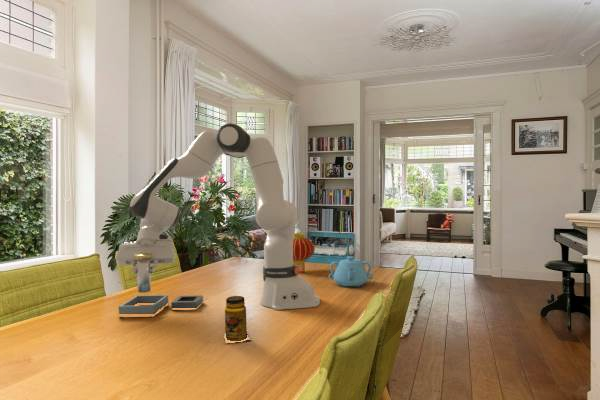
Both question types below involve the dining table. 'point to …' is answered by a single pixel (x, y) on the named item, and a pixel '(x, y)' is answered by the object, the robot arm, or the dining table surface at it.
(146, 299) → the tray
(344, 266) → the blue handled pot
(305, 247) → the lantern
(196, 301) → the blue-grey square holder
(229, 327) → the condiment
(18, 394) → the dining table surface
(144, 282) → the glass jar
